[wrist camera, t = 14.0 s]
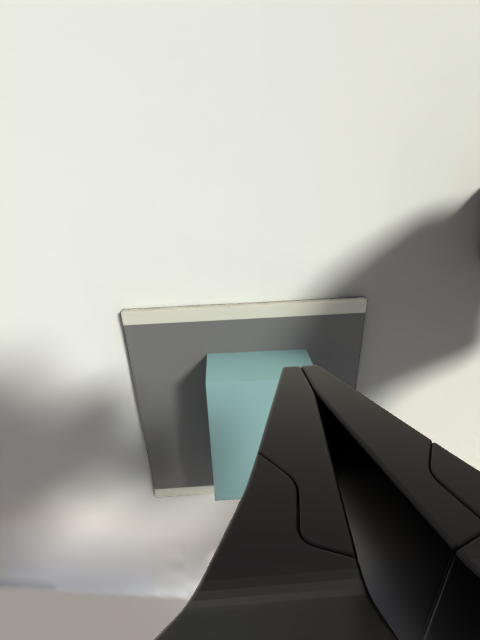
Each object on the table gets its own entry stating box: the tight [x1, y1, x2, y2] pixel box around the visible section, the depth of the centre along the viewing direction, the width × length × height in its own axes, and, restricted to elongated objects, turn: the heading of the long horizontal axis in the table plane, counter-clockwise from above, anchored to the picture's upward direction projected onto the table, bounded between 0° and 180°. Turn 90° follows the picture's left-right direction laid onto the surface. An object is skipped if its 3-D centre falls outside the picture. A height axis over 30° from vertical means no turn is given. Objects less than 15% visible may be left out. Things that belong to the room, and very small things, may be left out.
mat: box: [121, 297, 367, 497], centre depth 24 cm, size 14×15×1 cm
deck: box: [206, 349, 313, 501], centre depth 22 cm, size 3×9×6 cm
